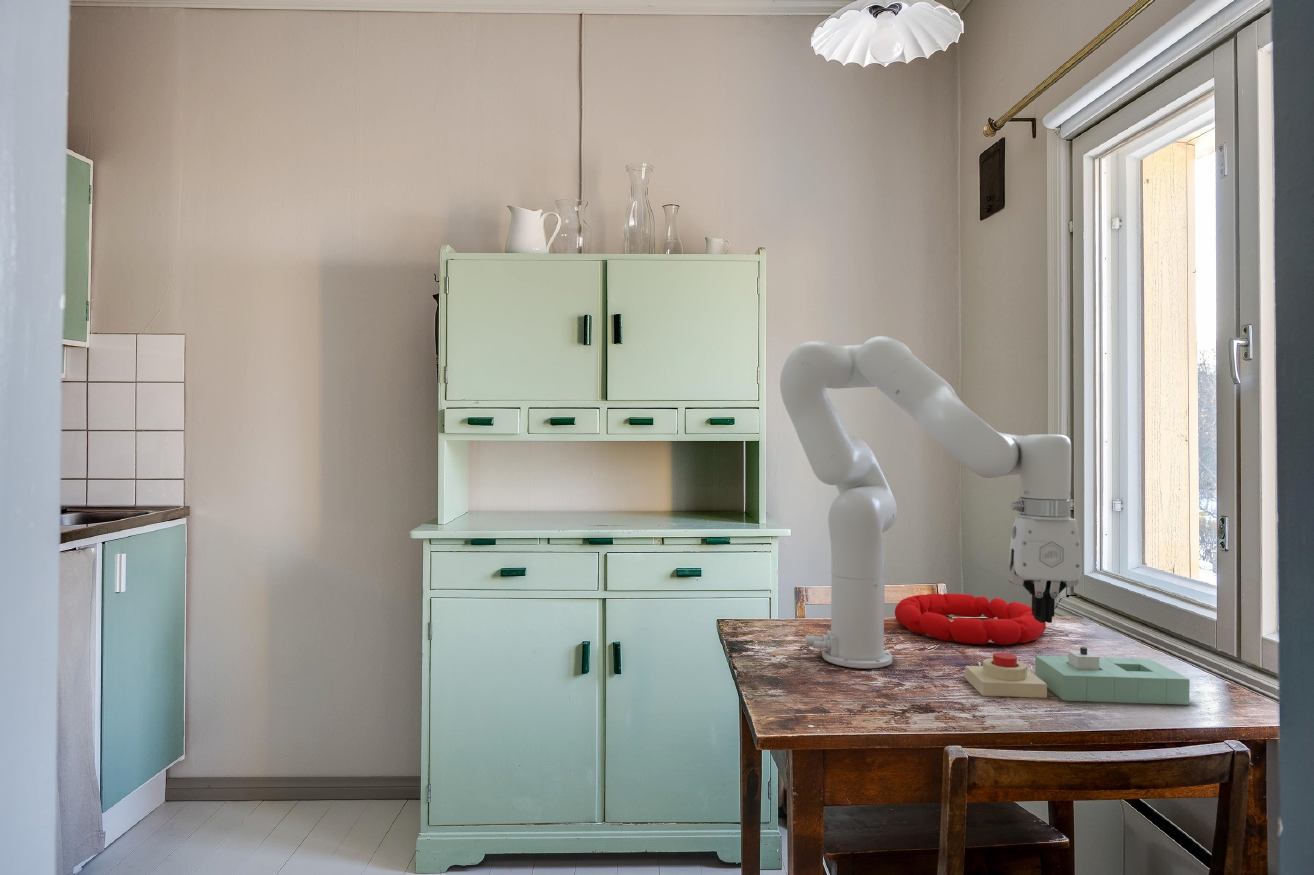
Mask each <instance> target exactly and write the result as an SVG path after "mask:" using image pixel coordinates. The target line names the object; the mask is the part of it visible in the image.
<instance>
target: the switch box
mask: <svg viewBox="0 0 1314 875" xmlns="http://www.w3.org/2000/svg"><path fill="white" fill-rule="evenodd" d="M964 679H966V681H967V682H968V684H970V685H971V686H972V687H973V688H974V689H975V690H976V691H977V692H978V693H980V695H981V696H985V697H986V696H987V697H1012V698H1013V697H1014V698H1044V699H1046V698H1048V688H1047V684H1046V683H1045V682H1044V681H1042V680H1041V679H1040V678H1038V677H1037V676H1036V675H1035V673H1033V672H1032V671H1030V670H1029V669H1028V665H1027V664H1026V663H1024V662H1022V661H1018V660H1017V667H1001V666H997V665H994V664H993V657H991V658H985V659H984V660H983V661H982V665H964Z"/></svg>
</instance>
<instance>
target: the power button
mask: <svg viewBox="0 0 1314 875" xmlns="http://www.w3.org/2000/svg"><path fill="white" fill-rule="evenodd" d="M992 658H993V664H994V665H997V666H1001V667H1017V661H1018V656H1017V655H1015V654H1013V653H1008V652H994V653H993V654H992Z"/></svg>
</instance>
